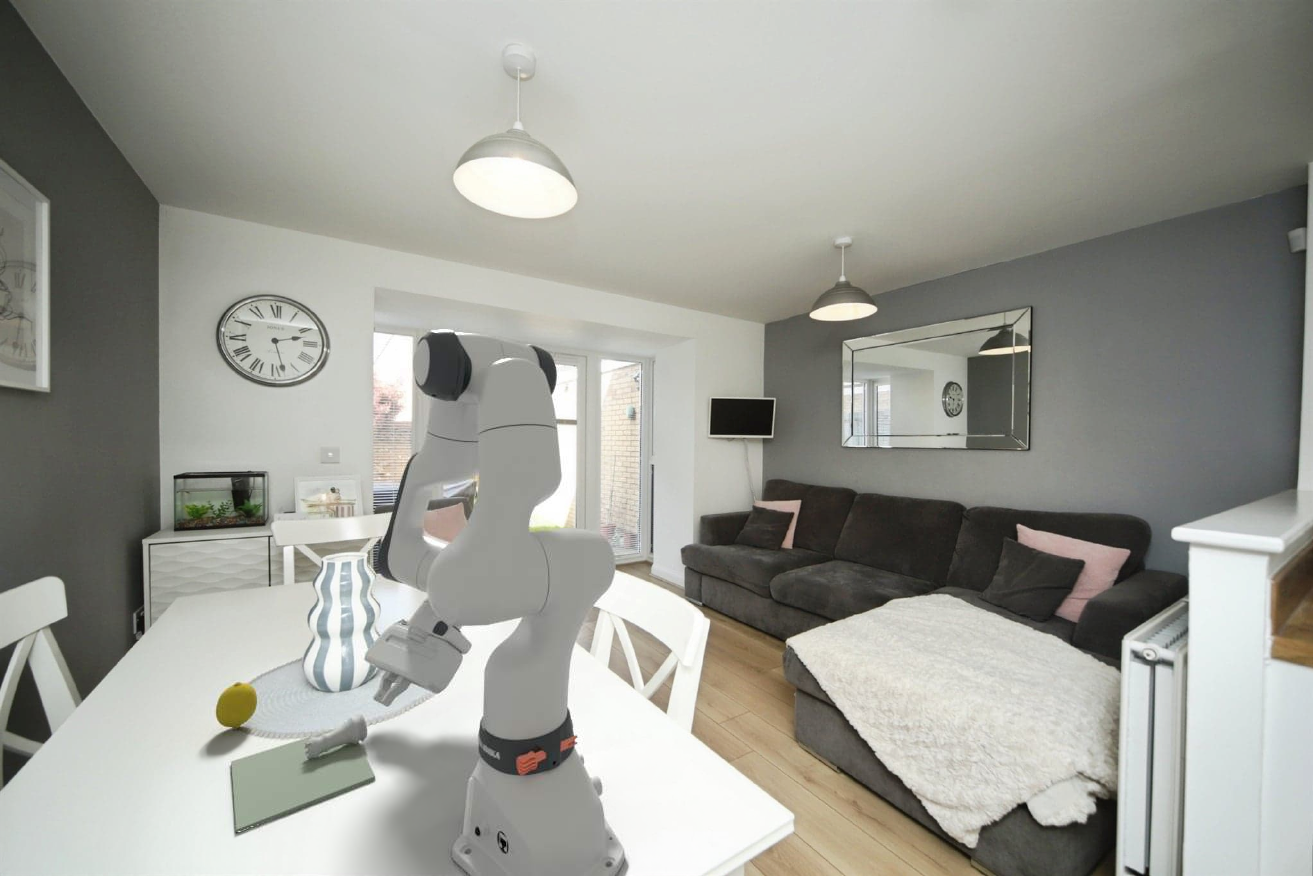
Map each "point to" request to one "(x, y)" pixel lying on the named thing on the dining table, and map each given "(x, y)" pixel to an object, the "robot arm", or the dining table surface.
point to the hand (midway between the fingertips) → (380, 703)
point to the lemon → (236, 705)
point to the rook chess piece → (338, 737)
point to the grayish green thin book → (293, 779)
